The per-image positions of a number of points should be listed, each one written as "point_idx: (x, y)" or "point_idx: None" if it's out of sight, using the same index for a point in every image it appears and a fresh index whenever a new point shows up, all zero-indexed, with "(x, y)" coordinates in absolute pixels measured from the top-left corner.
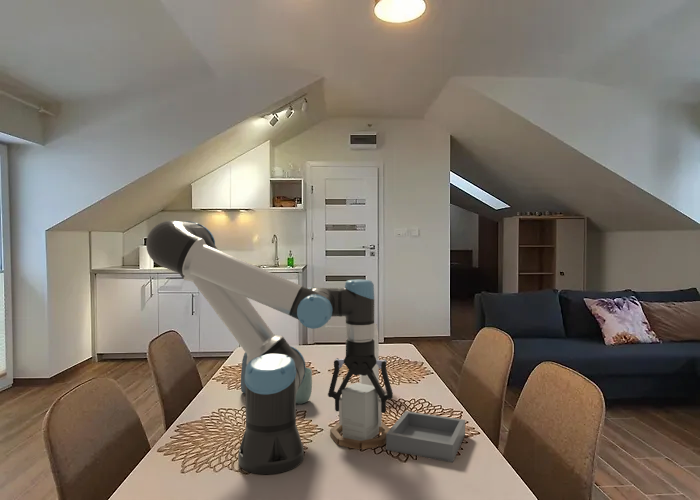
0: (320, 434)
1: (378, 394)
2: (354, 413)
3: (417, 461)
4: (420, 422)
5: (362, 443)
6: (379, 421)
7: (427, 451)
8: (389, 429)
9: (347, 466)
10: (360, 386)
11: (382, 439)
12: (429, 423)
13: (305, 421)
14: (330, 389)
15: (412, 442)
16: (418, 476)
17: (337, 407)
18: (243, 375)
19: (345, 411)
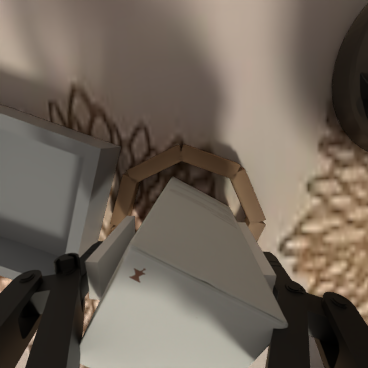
0: (285, 221)
1: (75, 289)
2: (200, 218)
3: (45, 91)
4: (45, 261)
5: (175, 146)
6: (125, 222)
7: (11, 110)
8: (114, 228)
9: (210, 44)
10: (171, 364)
11: (127, 175)
12: (23, 255)
13: (324, 289)
14: (364, 334)
15: (34, 122)
16: (33, 7)
17: (269, 260)
18: None
19: (235, 236)
